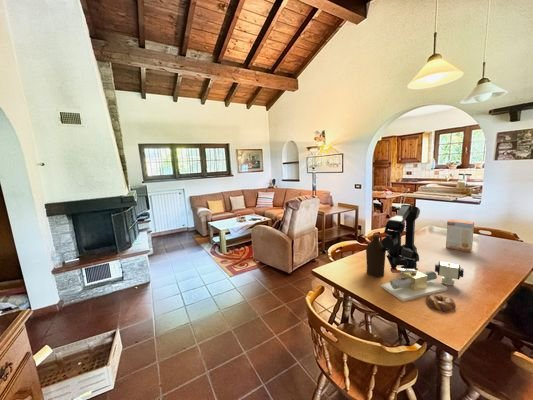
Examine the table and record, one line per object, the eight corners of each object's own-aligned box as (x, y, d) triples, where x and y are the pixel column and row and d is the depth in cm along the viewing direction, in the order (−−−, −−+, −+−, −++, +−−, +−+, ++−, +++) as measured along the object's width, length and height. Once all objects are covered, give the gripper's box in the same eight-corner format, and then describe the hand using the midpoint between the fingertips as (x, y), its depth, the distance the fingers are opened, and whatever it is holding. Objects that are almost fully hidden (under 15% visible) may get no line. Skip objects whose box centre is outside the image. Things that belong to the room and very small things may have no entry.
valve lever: (392, 273, 119) (392, 269, 119) (390, 271, 122) (390, 267, 121) (417, 274, 117) (418, 270, 116) (415, 271, 119) (415, 268, 119)
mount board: (381, 287, 123) (381, 284, 123) (421, 277, 130) (422, 275, 130) (403, 301, 109) (403, 298, 109) (446, 290, 116) (447, 287, 116)
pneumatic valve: (434, 278, 128) (435, 258, 126) (461, 284, 120) (463, 263, 118) (433, 283, 123) (435, 262, 122) (462, 289, 116) (464, 267, 114)
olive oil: (374, 279, 131) (374, 238, 127) (362, 271, 141) (362, 232, 137) (389, 276, 133) (390, 235, 130) (376, 268, 144) (377, 230, 140)
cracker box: (472, 250, 161) (474, 222, 158) (470, 252, 158) (472, 223, 154) (447, 245, 172) (449, 219, 169) (445, 247, 169) (447, 220, 165)
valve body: (387, 286, 120) (387, 274, 119) (425, 277, 127) (426, 266, 125) (399, 295, 112) (400, 281, 111) (439, 284, 119) (440, 272, 118)
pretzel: (441, 296, 112) (441, 290, 111) (463, 310, 101) (463, 303, 101) (419, 300, 110) (420, 293, 110) (439, 314, 100) (440, 306, 99)
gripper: (420, 249, 109) (418, 279, 112) (403, 236, 127) (402, 262, 130) (395, 249, 111) (394, 278, 114) (382, 236, 129) (381, 262, 132)
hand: (393, 270), depth 122 cm, fingers closed
